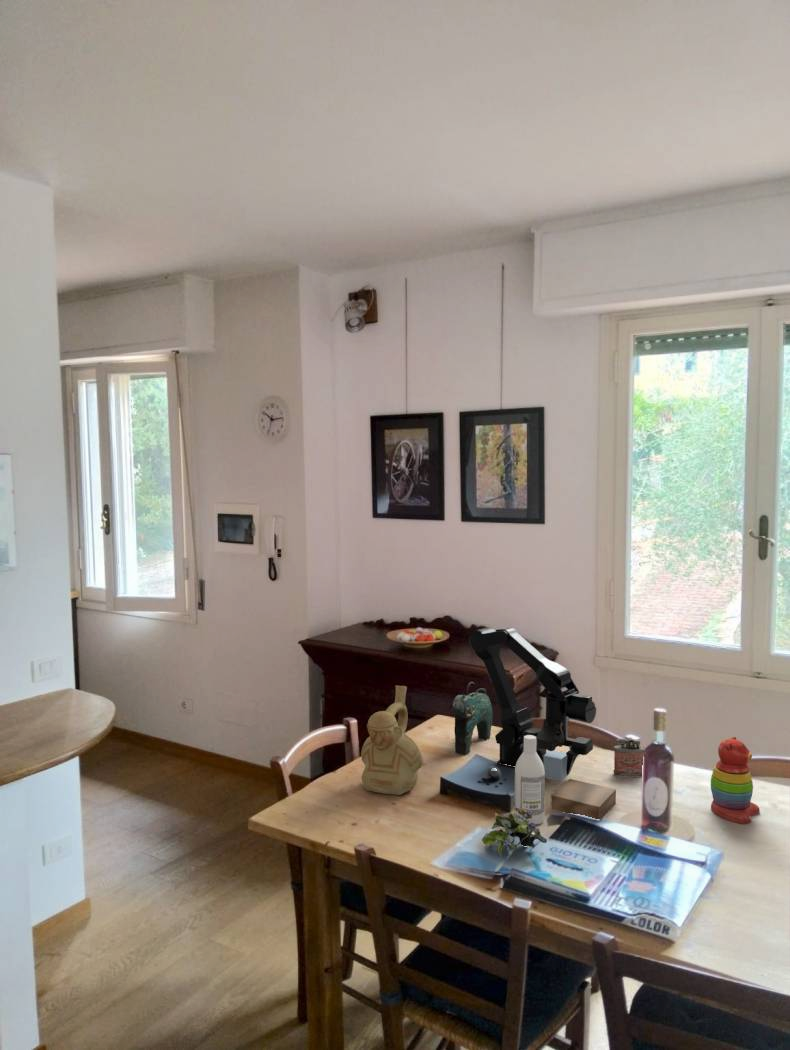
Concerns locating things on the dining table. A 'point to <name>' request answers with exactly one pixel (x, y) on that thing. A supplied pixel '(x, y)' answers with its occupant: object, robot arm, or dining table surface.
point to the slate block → (555, 765)
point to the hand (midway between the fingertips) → (555, 771)
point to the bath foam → (530, 782)
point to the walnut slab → (583, 799)
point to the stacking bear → (733, 783)
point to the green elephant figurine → (471, 719)
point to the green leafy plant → (513, 831)
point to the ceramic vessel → (390, 751)
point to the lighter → (628, 758)
